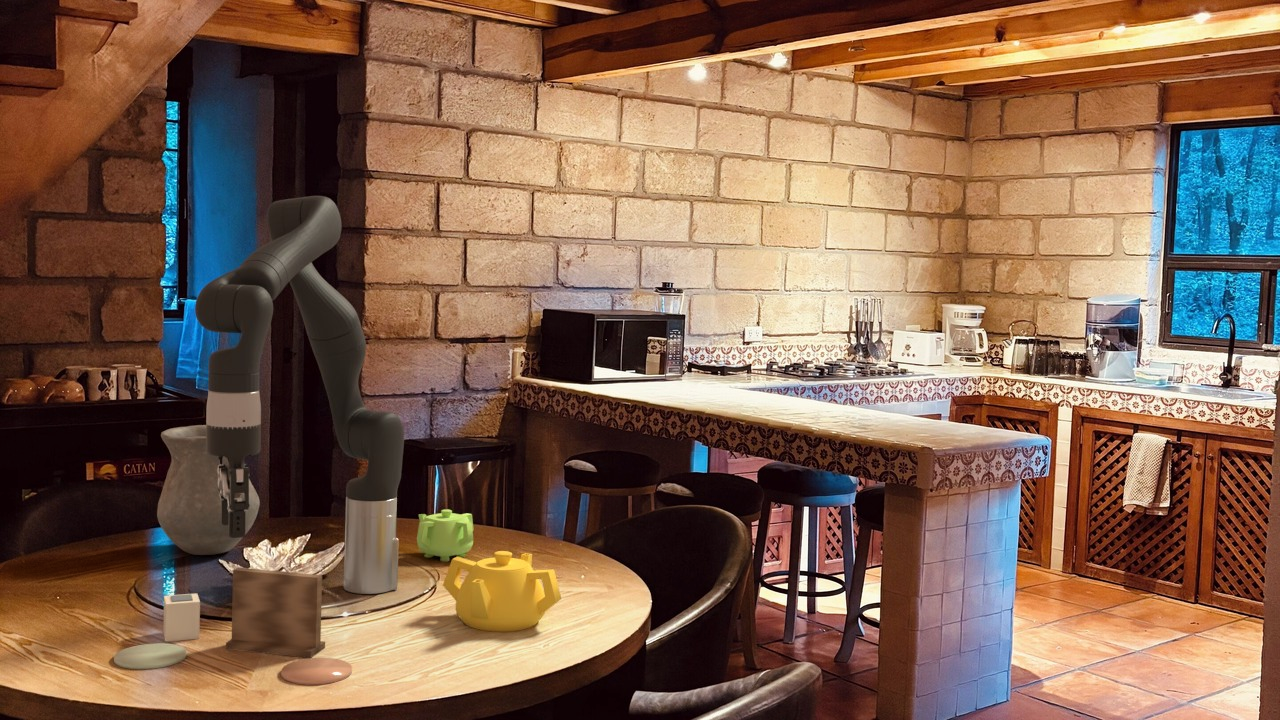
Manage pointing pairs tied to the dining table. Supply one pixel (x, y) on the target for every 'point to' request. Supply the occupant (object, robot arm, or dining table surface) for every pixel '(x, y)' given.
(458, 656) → the dining table surface
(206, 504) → the vase
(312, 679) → the terracotta coaster
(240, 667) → the dining table surface
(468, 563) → the teapot
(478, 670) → the dining table surface
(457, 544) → the teapot
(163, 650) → the sage coaster
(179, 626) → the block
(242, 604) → the occluder board
